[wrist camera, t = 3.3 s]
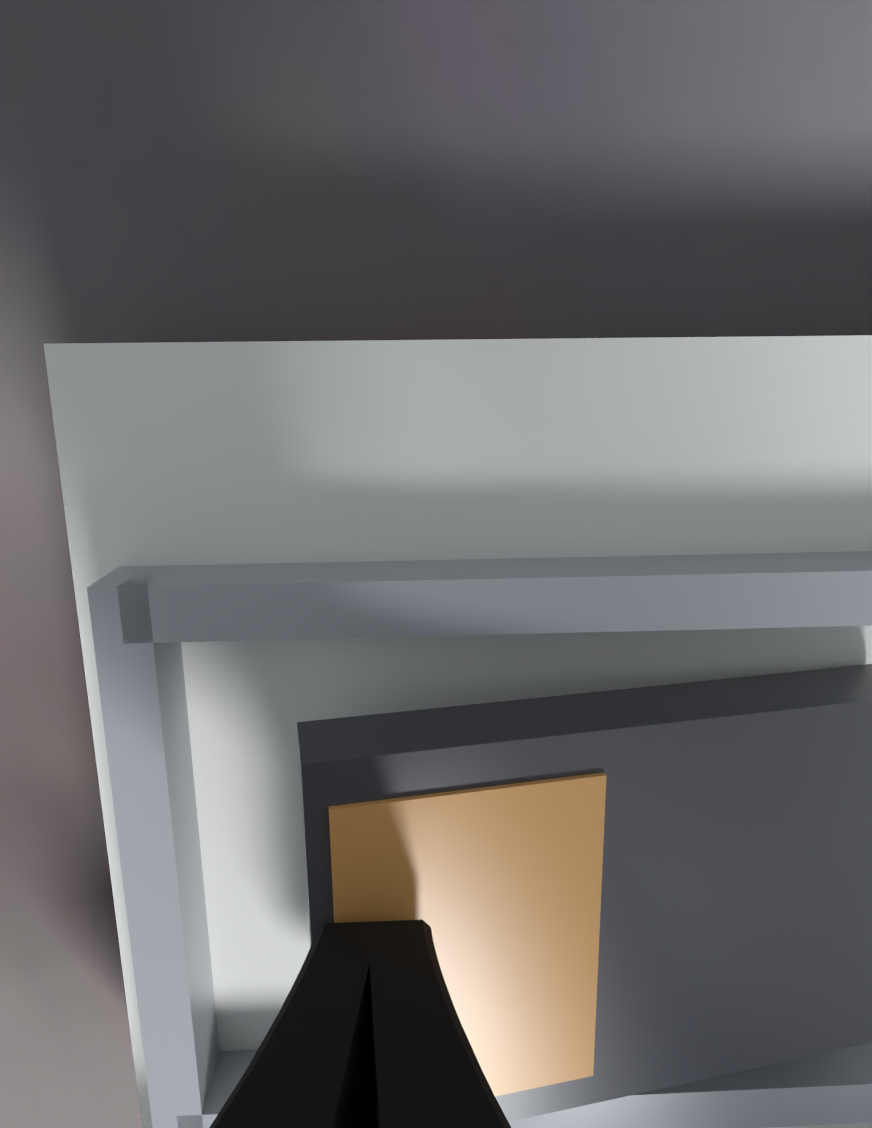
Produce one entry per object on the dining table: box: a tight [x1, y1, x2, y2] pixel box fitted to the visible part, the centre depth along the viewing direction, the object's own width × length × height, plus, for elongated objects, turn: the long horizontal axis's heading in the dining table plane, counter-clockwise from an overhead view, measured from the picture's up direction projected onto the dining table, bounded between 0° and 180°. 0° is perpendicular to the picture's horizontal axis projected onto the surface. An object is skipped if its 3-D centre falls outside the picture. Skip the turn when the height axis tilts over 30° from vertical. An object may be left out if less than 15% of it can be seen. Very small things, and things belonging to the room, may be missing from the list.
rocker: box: [297, 664, 872, 1122], centre depth 11 cm, size 6×9×1 cm, turn 91°
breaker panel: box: [44, 335, 872, 1128], centre depth 13 cm, size 16×16×6 cm
